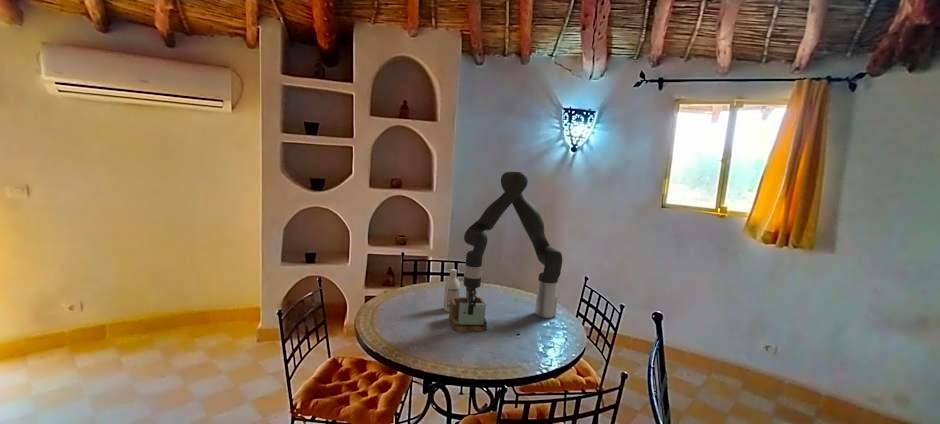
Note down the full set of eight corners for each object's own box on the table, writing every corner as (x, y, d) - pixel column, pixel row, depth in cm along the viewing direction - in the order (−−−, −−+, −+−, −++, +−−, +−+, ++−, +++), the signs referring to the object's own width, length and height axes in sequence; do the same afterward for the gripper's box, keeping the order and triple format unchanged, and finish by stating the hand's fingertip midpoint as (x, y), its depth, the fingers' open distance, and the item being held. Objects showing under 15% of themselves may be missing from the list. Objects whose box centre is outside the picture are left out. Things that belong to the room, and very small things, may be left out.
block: (482, 322, 224) (484, 303, 222) (483, 325, 221) (485, 305, 219) (457, 322, 222) (459, 302, 220) (459, 324, 219) (460, 305, 217)
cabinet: (479, 317, 234) (481, 297, 232) (486, 330, 220) (488, 309, 219) (448, 318, 231) (450, 297, 230) (453, 330, 218) (455, 309, 216)
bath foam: (460, 310, 241) (463, 270, 238) (449, 313, 237) (452, 272, 233) (452, 306, 246) (455, 266, 243) (440, 308, 242) (443, 268, 238)
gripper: (484, 280, 211) (481, 319, 215) (478, 270, 225) (475, 307, 228) (466, 280, 210) (463, 319, 213) (461, 270, 224) (458, 307, 227)
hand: (469, 312), depth 221 cm, fingers closed on block, 2 cm apart
